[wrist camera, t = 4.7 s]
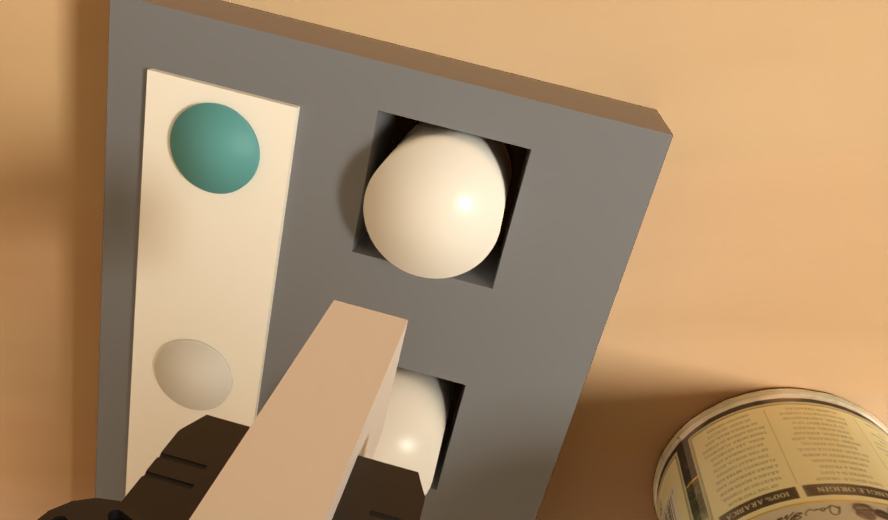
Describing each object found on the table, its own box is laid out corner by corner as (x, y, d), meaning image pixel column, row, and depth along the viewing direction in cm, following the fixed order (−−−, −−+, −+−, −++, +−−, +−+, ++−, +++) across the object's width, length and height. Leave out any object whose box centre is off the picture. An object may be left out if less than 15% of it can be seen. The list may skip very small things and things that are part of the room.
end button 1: (524, 129, 26) (517, 166, 22) (495, 239, 28) (483, 293, 24) (407, 100, 27) (376, 129, 22) (385, 210, 28) (352, 259, 24)
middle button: (464, 355, 29) (446, 430, 24) (440, 443, 31) (419, 527, 26) (357, 326, 29) (319, 395, 24) (340, 415, 31) (302, 495, 26)
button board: (656, 109, 26) (675, 139, 21) (481, 618, 36) (472, 703, 32) (172, -12, 26) (101, -7, 22) (138, 520, 37) (86, 590, 33)
